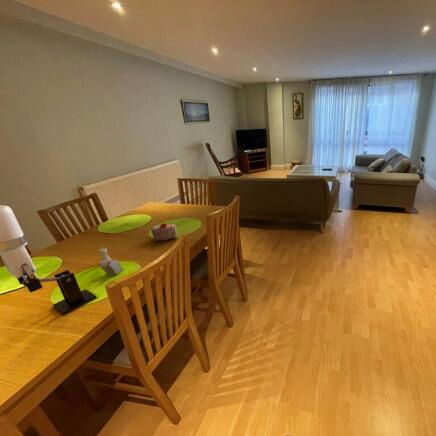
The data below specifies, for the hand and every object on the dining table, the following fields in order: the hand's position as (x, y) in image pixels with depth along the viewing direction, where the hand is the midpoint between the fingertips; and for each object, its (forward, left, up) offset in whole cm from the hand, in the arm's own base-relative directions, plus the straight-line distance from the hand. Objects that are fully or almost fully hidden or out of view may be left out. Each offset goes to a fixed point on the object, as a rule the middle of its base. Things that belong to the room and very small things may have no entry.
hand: (31, 285), depth 85 cm
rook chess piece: (+31, +22, -15) cm, 41 cm away
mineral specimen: (+27, +8, -15) cm, 32 cm away
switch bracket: (+9, 0, -14) cm, 17 cm away
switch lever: (+4, 0, -2) cm, 4 cm away
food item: (+64, +20, -15) cm, 69 cm away
